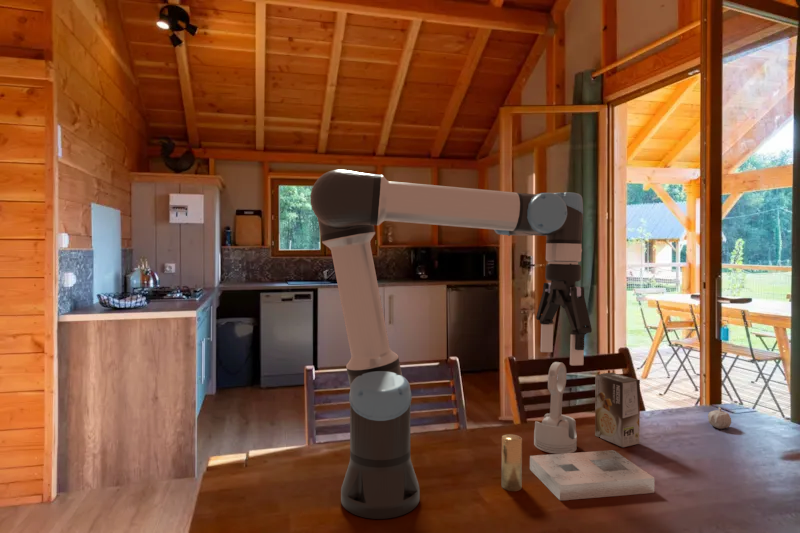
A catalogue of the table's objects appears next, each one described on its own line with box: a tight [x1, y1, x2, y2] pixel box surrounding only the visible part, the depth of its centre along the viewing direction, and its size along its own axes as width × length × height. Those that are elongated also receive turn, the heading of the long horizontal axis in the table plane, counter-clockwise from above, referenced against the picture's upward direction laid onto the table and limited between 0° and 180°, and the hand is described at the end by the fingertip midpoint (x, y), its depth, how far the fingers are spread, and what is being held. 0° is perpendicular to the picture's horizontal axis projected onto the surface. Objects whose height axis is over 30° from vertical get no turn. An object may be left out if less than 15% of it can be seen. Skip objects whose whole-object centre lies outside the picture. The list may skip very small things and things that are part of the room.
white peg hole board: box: [529, 449, 655, 501], centre depth 105 cm, size 20×14×3 cm
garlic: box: [707, 406, 732, 430], centre depth 137 cm, size 6×5×5 cm
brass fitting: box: [501, 433, 523, 492], centre depth 102 cm, size 4×4×10 cm
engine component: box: [533, 361, 578, 454], centre depth 124 cm, size 11×20×10 cm
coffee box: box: [594, 372, 641, 448], centre depth 127 cm, size 9×6×16 cm
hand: (560, 358), depth 112 cm, fingers open, 13 cm apart
